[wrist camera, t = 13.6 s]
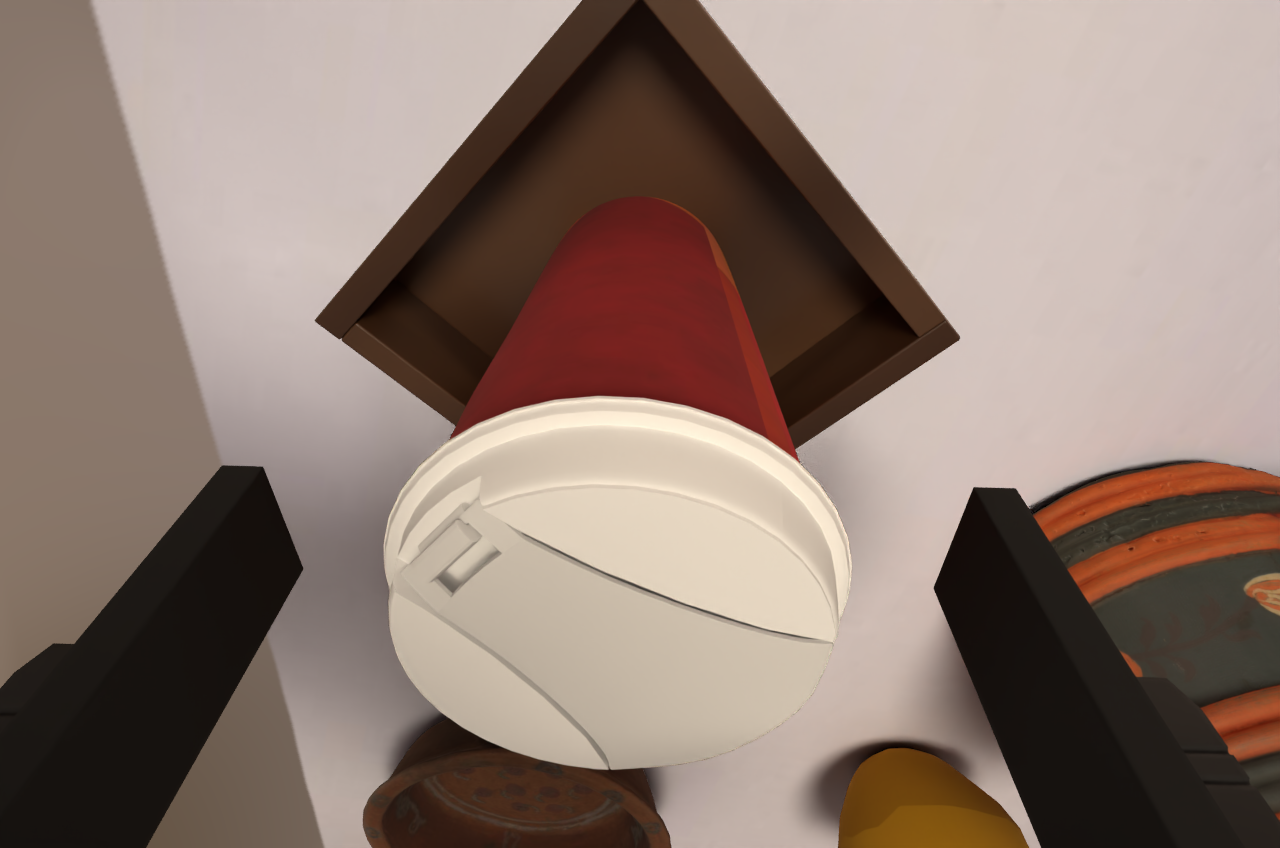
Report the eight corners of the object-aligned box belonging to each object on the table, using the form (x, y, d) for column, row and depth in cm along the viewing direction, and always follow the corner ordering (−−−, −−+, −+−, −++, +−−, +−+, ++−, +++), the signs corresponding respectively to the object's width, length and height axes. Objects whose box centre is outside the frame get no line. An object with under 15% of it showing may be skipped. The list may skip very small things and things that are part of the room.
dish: (708, 676, 37) (713, 767, 33) (638, 856, 50) (636, 938, 45) (382, 633, 36) (345, 722, 32) (395, 829, 48) (370, 911, 44)
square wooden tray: (362, 268, 24) (313, 321, 21) (645, -68, 18) (641, -72, 15) (636, 489, 29) (632, 558, 26) (919, 284, 24) (962, 339, 20)
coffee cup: (471, 287, 24) (263, 658, 11) (630, 96, 20) (576, 338, 8) (648, 424, 27) (635, 830, 14) (814, 280, 23) (984, 660, 11)
